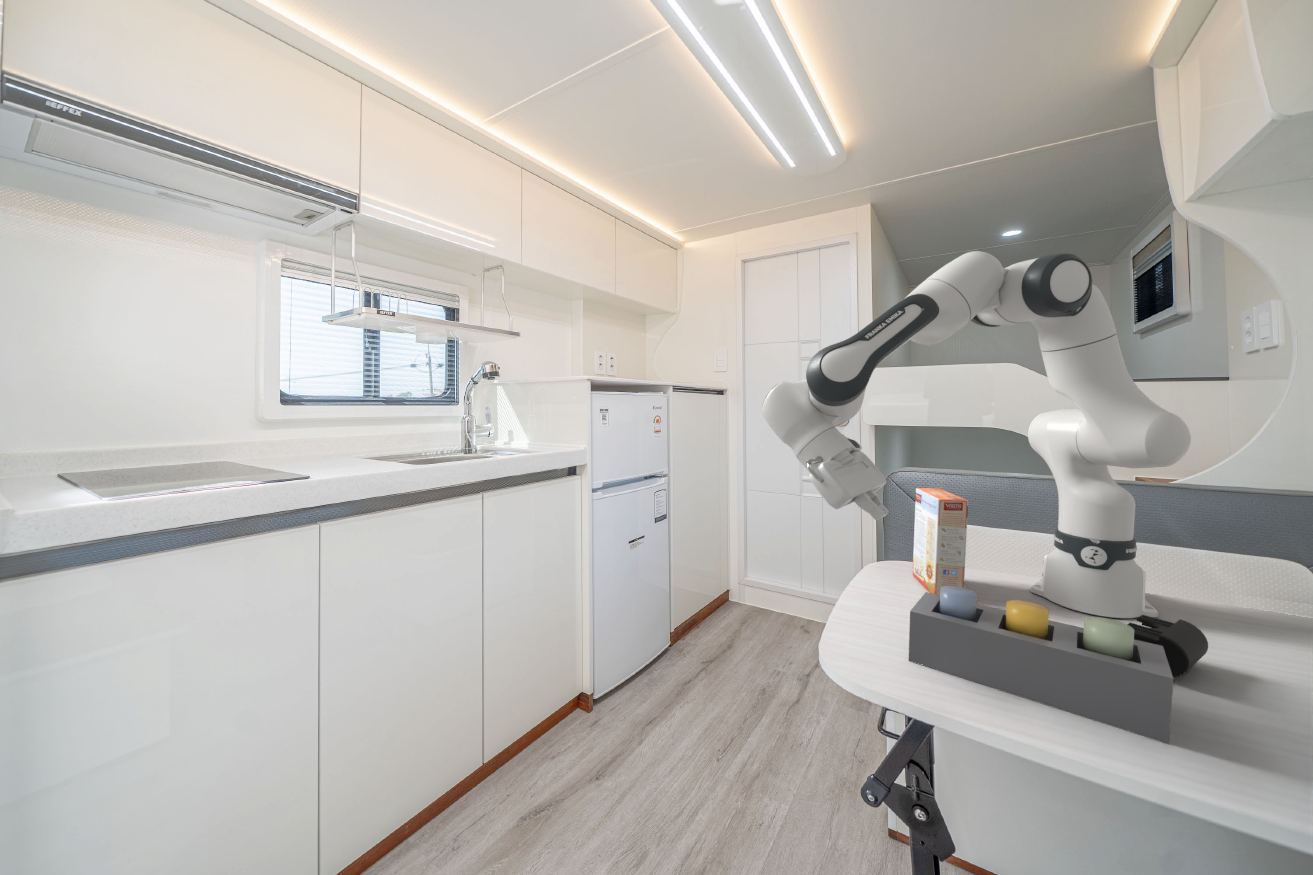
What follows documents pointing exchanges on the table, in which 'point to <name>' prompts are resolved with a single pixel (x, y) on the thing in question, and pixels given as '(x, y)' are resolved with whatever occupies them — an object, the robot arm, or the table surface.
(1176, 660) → the end cap
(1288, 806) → the table surface
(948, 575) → the cracker box
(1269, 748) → the table surface
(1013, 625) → the amber button
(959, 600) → the slate button
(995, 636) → the button console
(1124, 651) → the sage button
